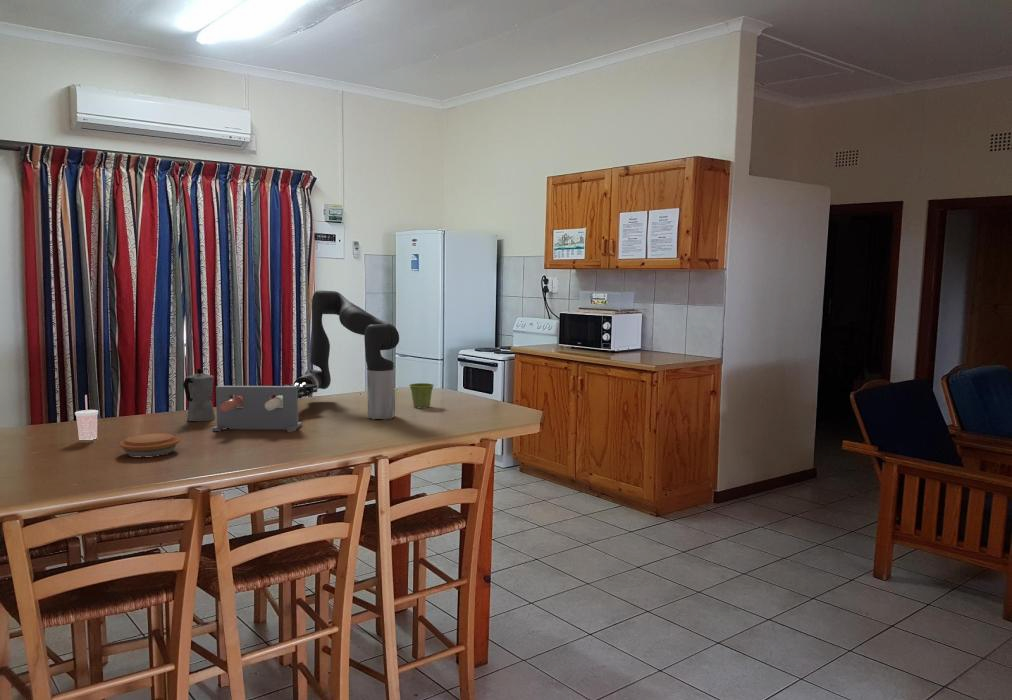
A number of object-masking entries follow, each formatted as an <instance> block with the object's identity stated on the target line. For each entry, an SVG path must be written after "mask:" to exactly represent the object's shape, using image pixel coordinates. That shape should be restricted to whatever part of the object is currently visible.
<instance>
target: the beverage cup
mask: <svg viewBox="0 0 1012 700" xmlns="http://www.w3.org/2000/svg"><path fill="white" fill-rule="evenodd" d="M84 402H85V410H83V409H82V410H76V411H75V412H74V416H76V417H75V418H76V425H77V431H78V432H77V433H78V441H79V440H93V439H96V438H97V439H98V414H99V410H97V409H88V395H87V394H85V395H84Z"/></svg>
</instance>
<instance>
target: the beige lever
mask: <svg viewBox="0 0 1012 700" xmlns="http://www.w3.org/2000/svg"><path fill="white" fill-rule="evenodd" d="M279 406H282V407H283V396H274V398H271V400H270V401H268V402H266V403H265V409H266V410H268V411H271V410H273V409H275V408H279Z"/></svg>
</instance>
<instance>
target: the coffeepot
mask: <svg viewBox="0 0 1012 700" xmlns="http://www.w3.org/2000/svg"><path fill="white" fill-rule="evenodd" d="M196 371H197V373H195V374H192V375H191V374H190V375H188V376H186V377H185V378H184V381H183V383H182V384H183V385H182V386H183V389H184V393H185V397H186V399H187V402H189V403H188V410H187V418H186V421H188V420H189V421H188V422H190V421H205V422H207V421H206V420H211V419H214V418H216V414H215V411H214V406H213V401H212V393H213V389H214V387H213V386H214V379H215V376H214V375H212V374H207V373H206V374H205V373H202V372H203V368H197V369H196ZM214 420H215V419H214ZM211 421H212V420H211Z"/></svg>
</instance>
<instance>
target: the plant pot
mask: <svg viewBox="0 0 1012 700" xmlns="http://www.w3.org/2000/svg"><path fill="white" fill-rule="evenodd" d="M408 386H409V388H410V390H411V396H412V403H413V408H417V407H426V408H430V407H429V406H431V399H432V393H433V392H432V391H433V388H434V386H435V384H433V383H427V382H426V383H425V382H423V383H422V382H421V383H420V382H419V383H410V384H408Z"/></svg>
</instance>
